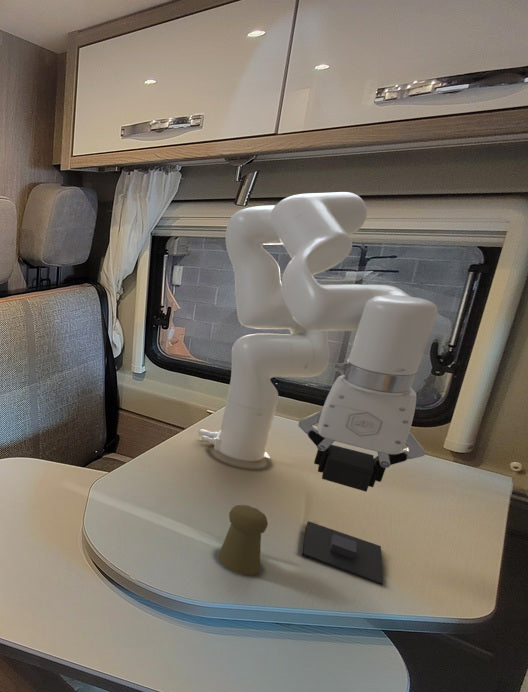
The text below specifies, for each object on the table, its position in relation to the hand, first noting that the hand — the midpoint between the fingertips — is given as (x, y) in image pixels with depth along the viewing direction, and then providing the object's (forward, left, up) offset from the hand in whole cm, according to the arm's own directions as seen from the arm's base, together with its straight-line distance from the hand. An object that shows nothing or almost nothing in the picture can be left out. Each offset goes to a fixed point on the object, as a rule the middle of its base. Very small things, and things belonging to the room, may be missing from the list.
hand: (345, 474), depth 76 cm
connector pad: (0, 0, 0) cm, 1 cm away
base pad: (+3, -1, -15) cm, 15 cm away
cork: (-10, -15, -15) cm, 23 cm away
